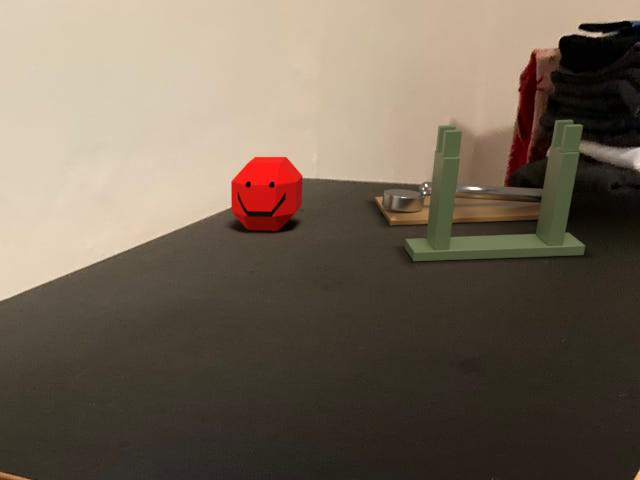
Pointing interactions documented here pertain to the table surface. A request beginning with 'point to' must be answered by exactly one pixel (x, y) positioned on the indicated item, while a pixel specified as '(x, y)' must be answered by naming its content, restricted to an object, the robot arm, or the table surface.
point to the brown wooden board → (466, 211)
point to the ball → (266, 193)
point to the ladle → (458, 195)
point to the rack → (541, 244)
